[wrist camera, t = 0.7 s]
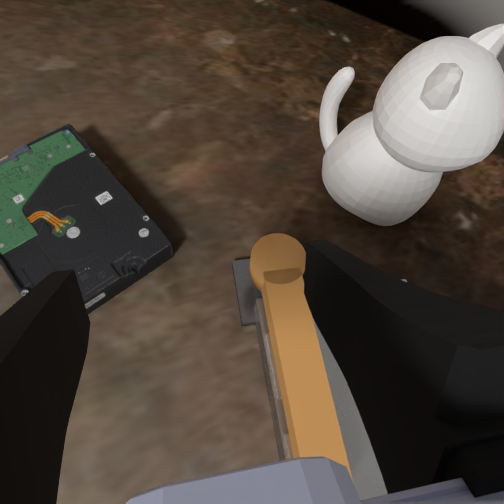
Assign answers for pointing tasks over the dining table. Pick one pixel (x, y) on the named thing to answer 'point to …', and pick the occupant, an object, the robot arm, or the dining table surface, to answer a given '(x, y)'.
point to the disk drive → (73, 220)
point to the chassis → (348, 415)
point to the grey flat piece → (245, 291)
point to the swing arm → (296, 349)
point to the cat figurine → (415, 126)
